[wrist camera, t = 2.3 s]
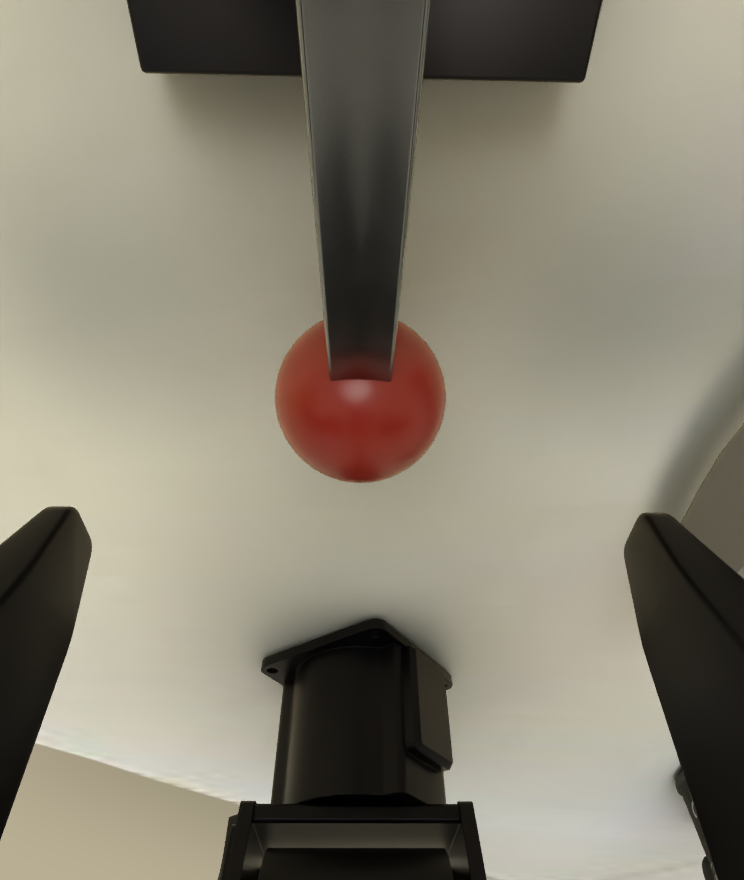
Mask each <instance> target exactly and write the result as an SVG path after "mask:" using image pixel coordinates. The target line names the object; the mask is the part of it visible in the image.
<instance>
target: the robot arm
mask: <svg viewBox="0 0 744 880" xmlns="http://www.w3.org/2000/svg"><path fill="white" fill-rule="evenodd" d="M91 552H92V543H91V539H90V536H89V534H88V532H87V530H86V527H85V525H84V523H83V521H82V519H81V517H80V514H79V512H78V511H77V510H76V509H75V508H74V507H48V508H45V509H44V510H42V511H41V512H40V513H38V514H37V515H36V516H35V517H34V518H32V519H31V520H30V521H29V522H27V523H26V524H25V525H24V526H23V527H21V528H20V529H19V530H18V531H16V532H15V533H14V534H13V535H12V536H10V537H9V538H8V539H7V540H5V541H4V542H3V543H2V544H1V545H0V839H1V836H2V834H3V830H4V828H5V825H6V822H7V819H8V817H9V814H10V811H11V808H12V806H13V803H14V800H15V797H16V794H17V791H18V788H19V786H20V783H21V780H22V777H23V775H24V772H25V769H26V766H27V763H28V760H29V757H30V754H31V752H32V749H33V747H34V744H35V741H36V738H37V735H38V732H39V730H40V727H41V724H42V721H43V718H44V716H45V713H46V710H47V707H48V704H49V702H50V699H51V696H52V693H53V690H54V688H55V685H56V682H57V679H58V676H59V673H60V671H61V668H62V665H63V662H64V659H65V657H66V654H67V651H68V647H69V644H70V641H71V638H72V634H73V630H74V626H75V622H76V617H77V613H78V609H79V604H80V600H81V596H82V591H83V587H84V583H85V578H86V574H87V570H88V565H89V561H90V557H91ZM624 558H625V564H626V569H627V574H628V579H629V583H630V588H631V593H632V598H633V603H634V608H635V613H636V618H637V623H638V628H639V633H640V637H641V641H642V646H643V649H644V652H645V656H646V659H647V662H648V665H649V668H650V672H651V675H652V678H653V681H654V684H655V687H656V690H657V693H658V696H659V699H660V702H661V706H662V709H663V712H664V715H665V718H666V721H667V724H668V727H669V730H670V733H671V737H672V740H673V743H674V746H675V749H676V752H677V755H678V758H679V761H680V764H681V767H682V771H683V774H684V777H685V780H686V783H687V786H688V789H689V792H690V795H691V798H692V801H693V805H694V808H695V811H696V814H697V817H698V820H699V823H700V826H701V829H702V832H703V835H704V839H705V842H706V845H707V848H708V851H709V854H710V857H711V860H712V863H713V866H714V870H715V873H716V876H717V879H718V880H744V579H743V578H742V577H741V576H740V575H739V574H738V573H737V572H735V571H734V570H733V569H732V568H731V567H730V566H729V565H727V564H726V563H725V562H724V561H723V560H722V559H721V558H719V557H718V556H717V555H716V554H715V553H714V552H713V551H711V550H710V549H709V548H708V547H707V546H706V545H705V544H703V543H702V542H701V541H700V540H699V539H698V538H696V537H695V536H694V535H693V534H692V533H691V532H690V531H688V530H687V529H686V528H685V527H684V526H683V525H682V524H680V523H679V522H678V521H677V520H676V519H675V518H674V517H672V516H671V515H669V514H667V513H642V514H641V515H640V516H639V517H638V518H637V520H636V523H635V525H634V527H633V529H632V531H631V533H630V535H629V537H628V539H627V541H626V544H625V548H624ZM261 671H262V673H264V674H265V675H267V676H268V677H270V678H272V679H273V680H275V681H277V682H278V683H280V684H282V685H283V696H282V705H281V714H280V724H279V733H278V742H277V751H276V761H275V770H274V779H273V788H272V798H271V804H256V801H241V803H240V807H239V812H238V814H237V815H234V816H231V817H229V821H228V828H227V834H226V841H225V847H224V854H223V859H222V864H221V869H220V873H219V877H218V880H486V874H485V869H484V863H483V857H482V852H481V846H480V841H479V835H478V830H477V824H476V818H475V813H474V807H473V803H472V802H457V804H446V798H445V786H444V774H443V771H446V770H450V768H451V765H452V763H453V758H452V748H451V738H450V728H449V717H448V707H447V697H446V690H448V689H450V688H451V687H452V677H451V675H450V674H449V673H448V672H446V671H445V670H444V669H443V668H442V667H440V666H439V665H438V664H437V663H436V662H434V661H433V660H432V659H431V658H429V657H428V656H427V655H426V654H425V653H423V652H422V651H421V650H420V649H418V648H417V647H416V646H415V645H414V644H412V643H411V642H410V641H409V640H408V639H406V638H405V637H404V636H403V635H401V634H400V633H399V632H398V631H397V630H395V629H394V628H393V627H392V626H390V625H389V624H388V623H387V622H386V621H384V620H381V619H370V620H367V621H364V622H361V623H359V624H356V625H353V626H350V627H348V628H345V629H342V630H340V631H337V632H334V633H331V634H329V635H326V636H323V637H321V638H318V639H315V640H312V641H310V642H307V643H304V644H302V645H299V646H296V647H293V648H291V649H288V650H285V651H283V652H280V653H277V654H274V655H272V656H269V657H266V658H265V659H263V661H262V667H261Z"/></svg>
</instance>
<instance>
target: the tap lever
mask: <svg viewBox="0 0 744 880" xmlns="http://www.w3.org/2000/svg"><path fill="white" fill-rule="evenodd" d="M295 3H296V14H297V25H298V37H299V48H300V59H301V70H302V81H303V92H304V104H305V115H306V126H307V137H308V148H309V159H310V171H311V182H312V193H313V204H314V215H315V226H316V238H317V249H318V260H319V271H320V282H321V293H322V305H323V316H324V320H322V321H320V322H319V323H317V324H315V325H314V326H312V327H311V328H310V329H308V330H307V331H306V332H305V333H304V334H302V335H301V336H300V337H299V338H298V339H297V340H296V341H295V343H294V344H293V346H292V347H291V348H290V350H289V351H288V353H287V354H286V356H285V358H284V360H283V362H282V365H281V367H280V370H279V373H278V377H277V383H276V389H275V404H276V411H277V417H278V421H279V424H280V427H281V429H282V432H283V434H284V436H285V438H286V440H287V441H288V443H289V444H290V446H291V447H292V449H293V450H294V451H295V453H296V454H297V455H298V456H299V457H300V458H301V459H302V460H303V461H304V462H306V463H307V464H308V465H309V466H311V467H312V468H313V469H315V470H317V471H319V472H320V473H322V474H324V475H326V476H329V477H332V478H334V479H338V480H341V481H346V482H355V483H366V482H375V481H380V480H383V479H386V478H390V477H392V476H395V475H397V474H399V473H401V472H402V471H404V470H406V469H408V468H409V467H410V466H412V465H413V464H414V463H415V462H417V461H418V460H419V459H420V458H421V457H422V456H423V455H424V454H425V452H426V451H427V450H428V449H429V447H430V446H431V444H432V443H433V441H434V439H435V437H436V436H437V434H438V431H439V429H440V426H441V423H442V420H443V416H444V410H445V402H446V392H445V384H444V378H443V374H442V371H441V368H440V366H439V363H438V361H437V359H436V357H435V355H434V353H433V352H432V350H431V349H430V347H429V346H428V345H427V343H426V342H425V341H424V340H423V339H422V338H421V337H420V336H419V335H418V334H417V333H416V332H415V331H414V330H412V329H411V328H410V327H408V326H407V325H405V324H404V323H402V322H400V321H398V316H399V306H400V296H401V287H402V277H403V267H404V257H405V248H406V238H407V228H408V218H409V208H410V199H411V189H412V179H413V169H414V159H415V150H416V140H417V130H418V120H419V111H420V101H421V91H422V81H423V71H424V62H425V52H426V42H427V32H428V23H429V13H430V3H431V0H295Z"/></svg>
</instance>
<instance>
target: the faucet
mask: <svg viewBox="0 0 744 880" xmlns="http://www.w3.org/2000/svg"><path fill="white" fill-rule="evenodd" d="M681 524H682V525H683V526H684V527H685V528H686V529H687V530H688V531H690V532H691V533H692V534H693V535H694V536H695V537H696V538H698V539H699V540H700V541H701V542H702V543H703V544H705V545H706V546H707V547H708V548H709V549H710V550H711V551H713V552H714V553H715V554H716V555H717V556H718V557H719V558H721V559H722V560H723V561H724V562H725V563H726V564H727V565H729V566H730V567H731V568H732V569H733V570H734V571H735V572H737V573H738V574H739V575H740V576H741V577H742V578H743V579H744V424H743V425H742V426H741V427H740V429H739V430H738V431H737V433H736V434H735V435H734V437H733V438H732V439H731V441H730V442H729V443H728V444H727V446H726V447H725V448H724V450H723V451H722V452H721V454H720V455H719V457H718V458H717V460H716V462H715V463H714V465H713V467H712V468H711V470H710V472H709V473H708V475H707V477H706V478H705V480H704V482H703V483H702V485H701V487H700V488H699V490H698V492H697V494H696V495H695V497H694V499H693V501H692V503H691V505H690V507H689V509H688V511H687V513H686V515H685V516H684V518H683V520H682V522H681Z"/></svg>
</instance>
